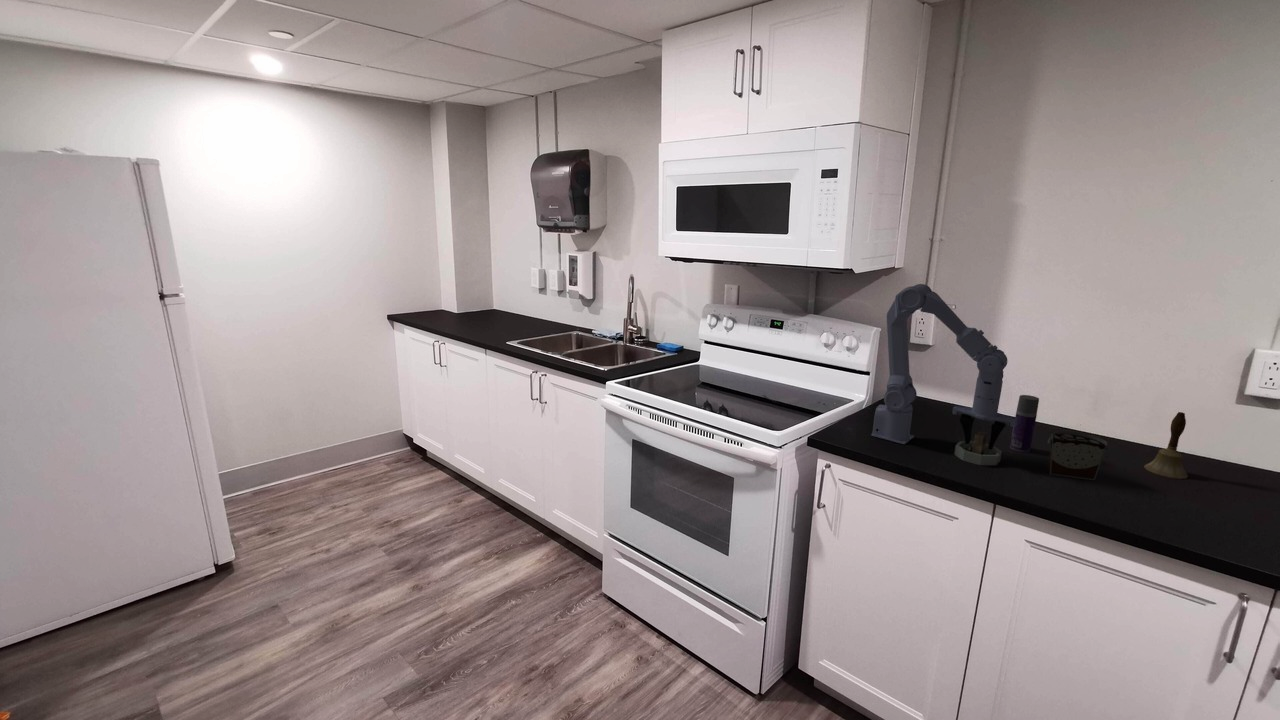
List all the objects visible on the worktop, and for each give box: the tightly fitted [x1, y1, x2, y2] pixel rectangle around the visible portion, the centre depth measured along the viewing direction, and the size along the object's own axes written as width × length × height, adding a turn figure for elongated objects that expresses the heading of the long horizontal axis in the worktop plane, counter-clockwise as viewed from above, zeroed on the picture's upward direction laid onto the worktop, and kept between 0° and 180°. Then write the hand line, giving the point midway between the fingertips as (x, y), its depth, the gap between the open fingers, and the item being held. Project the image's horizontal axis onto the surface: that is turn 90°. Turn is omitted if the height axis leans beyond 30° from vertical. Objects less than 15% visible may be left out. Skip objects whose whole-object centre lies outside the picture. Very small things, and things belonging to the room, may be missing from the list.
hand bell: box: [1144, 411, 1189, 480], centre depth 144 cm, size 8×8×16 cm
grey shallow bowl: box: [954, 440, 1003, 466], centre depth 153 cm, size 10×10×3 cm
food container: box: [1047, 430, 1110, 481], centre depth 144 cm, size 12×6×10 cm, turn 71°
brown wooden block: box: [972, 430, 988, 455], centre depth 152 cm, size 2×4×6 cm, turn 137°
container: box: [1009, 394, 1040, 453], centre depth 157 cm, size 5×5×15 cm
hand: (978, 445), depth 152 cm, fingers open, 5 cm apart
